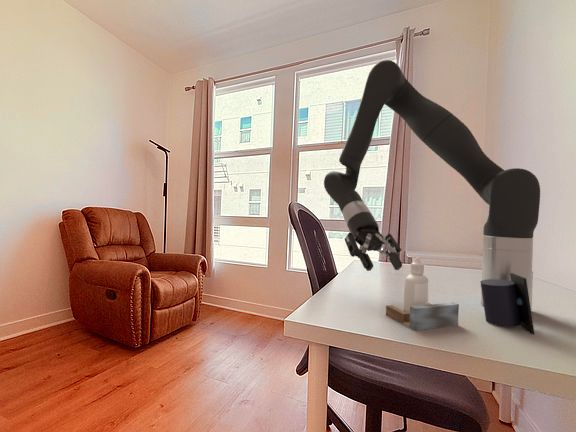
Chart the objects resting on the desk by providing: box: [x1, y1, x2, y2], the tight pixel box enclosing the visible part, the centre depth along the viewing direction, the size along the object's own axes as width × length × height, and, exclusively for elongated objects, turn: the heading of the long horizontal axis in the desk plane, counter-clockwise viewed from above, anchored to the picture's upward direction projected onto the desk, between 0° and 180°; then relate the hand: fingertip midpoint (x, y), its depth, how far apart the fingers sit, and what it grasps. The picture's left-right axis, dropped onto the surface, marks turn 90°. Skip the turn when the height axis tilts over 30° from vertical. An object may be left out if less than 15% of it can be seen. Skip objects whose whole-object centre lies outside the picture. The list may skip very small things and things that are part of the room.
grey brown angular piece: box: [385, 302, 460, 331], centre depth 53 cm, size 11×8×4 cm
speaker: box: [480, 273, 535, 335], centre depth 53 cm, size 8×6×10 cm
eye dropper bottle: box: [403, 256, 429, 314], centre depth 55 cm, size 4×6×12 cm
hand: (385, 268), depth 63 cm, fingers open, 8 cm apart
